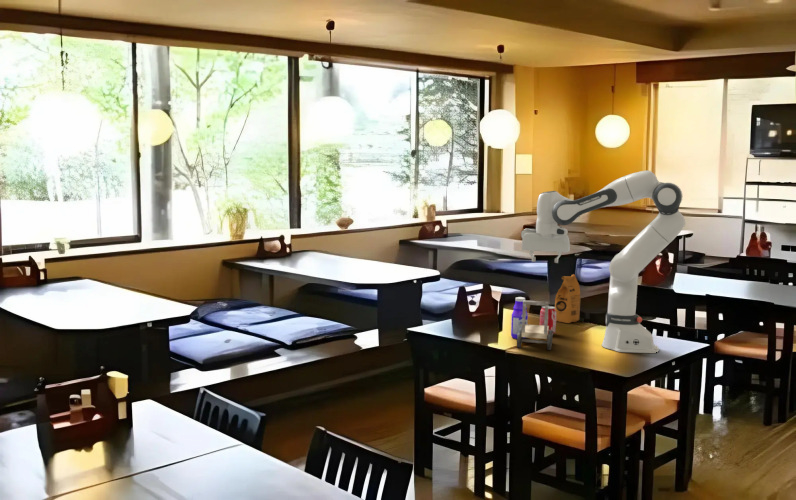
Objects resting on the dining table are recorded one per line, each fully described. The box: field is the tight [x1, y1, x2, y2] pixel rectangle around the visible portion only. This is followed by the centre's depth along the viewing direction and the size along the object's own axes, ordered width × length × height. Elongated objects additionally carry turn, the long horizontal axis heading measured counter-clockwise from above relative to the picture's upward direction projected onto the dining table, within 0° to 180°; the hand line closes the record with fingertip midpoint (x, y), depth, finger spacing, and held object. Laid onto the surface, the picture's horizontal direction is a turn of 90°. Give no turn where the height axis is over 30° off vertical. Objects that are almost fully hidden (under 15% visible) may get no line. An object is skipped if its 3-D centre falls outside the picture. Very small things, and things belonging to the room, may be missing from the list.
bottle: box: [510, 296, 529, 340], centre depth 337 cm, size 7×6×17 cm
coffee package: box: [554, 273, 581, 324], centre depth 376 cm, size 10×12×22 cm
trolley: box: [516, 299, 554, 351], centre depth 322 cm, size 14×16×20 cm
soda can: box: [539, 305, 557, 335], centre depth 346 cm, size 7×7×12 cm
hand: (544, 262), depth 333 cm, fingers open, 8 cm apart
